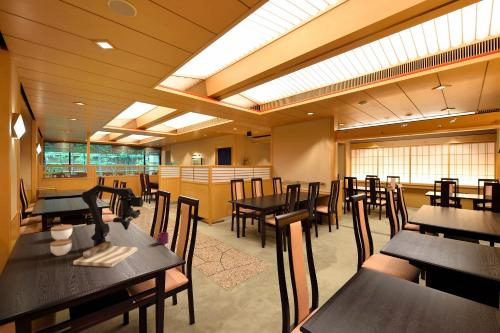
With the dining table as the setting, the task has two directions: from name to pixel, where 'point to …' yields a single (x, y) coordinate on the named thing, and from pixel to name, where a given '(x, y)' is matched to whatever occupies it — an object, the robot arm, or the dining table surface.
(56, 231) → the lidded bowl
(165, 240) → the mug
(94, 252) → the stool leg
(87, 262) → the stool board
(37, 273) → the dining table surface
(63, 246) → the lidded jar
